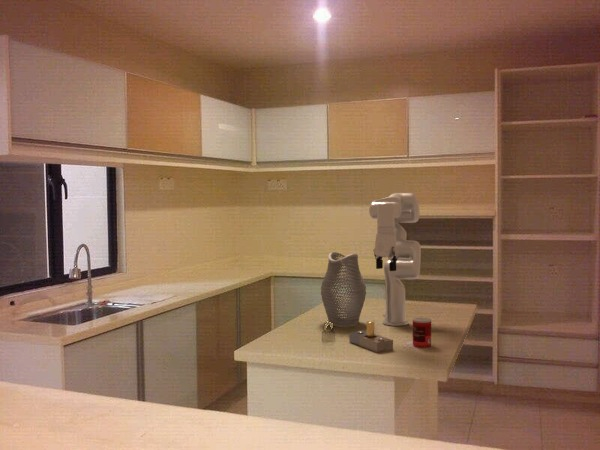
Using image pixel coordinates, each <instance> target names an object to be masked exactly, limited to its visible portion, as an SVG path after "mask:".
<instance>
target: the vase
mask: <svg viewBox="0 0 600 450" xmlns="http://www.w3.org/2000/svg"><path fill="white" fill-rule="evenodd" d="M358 260H359V255H358V254H357V253H349V254H348V255H343V254H341V253H339V252H332V251H331V252H330V253H329V254H328V263H327V268H326V272H325V274H324V277H323V280H322V282H321V286H320V295H321V300H322V304H323V308H324V309H325V310H324V311H325V313H326V317H327V321H328V323H329V322H331V323H333V325H334V326H333V327H340V328H349V327H355V326H358V325H359V322H360V317H361V313H362V310H363V308H364V307H363V306H364V303H365V301H366V295H367V291H366V290H367V287H366V282H365V280H364V278H363V275H362V273H361V271H360V265H359V261H358Z"/></svg>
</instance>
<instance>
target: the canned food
mask: <svg viewBox="0 0 600 450" xmlns="http://www.w3.org/2000/svg"><path fill="white" fill-rule="evenodd" d="M412 344H413V346H414V347H416V348H423V349H424V348H431V346H432V319H431V318H428V317H414V318H413V319H412Z"/></svg>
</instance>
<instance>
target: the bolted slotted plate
mask: <svg viewBox="0 0 600 450" xmlns="http://www.w3.org/2000/svg"><path fill="white" fill-rule="evenodd" d="M349 343H351V344H354V345H356V346H358V347H362V348H365V349H367V350H369V351H372V352H375V353H383V352H389V350H390V351H394V340H393V339H390V338H388V337H384V336H382V335H378V334H375V333H374V338H367V330H358V331H353V332H349Z"/></svg>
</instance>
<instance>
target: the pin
mask: <svg viewBox="0 0 600 450" xmlns="http://www.w3.org/2000/svg"><path fill="white" fill-rule="evenodd" d="M366 331H367V338H374V334H375V321H373V320H372V321H371V320H369V321H366Z"/></svg>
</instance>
